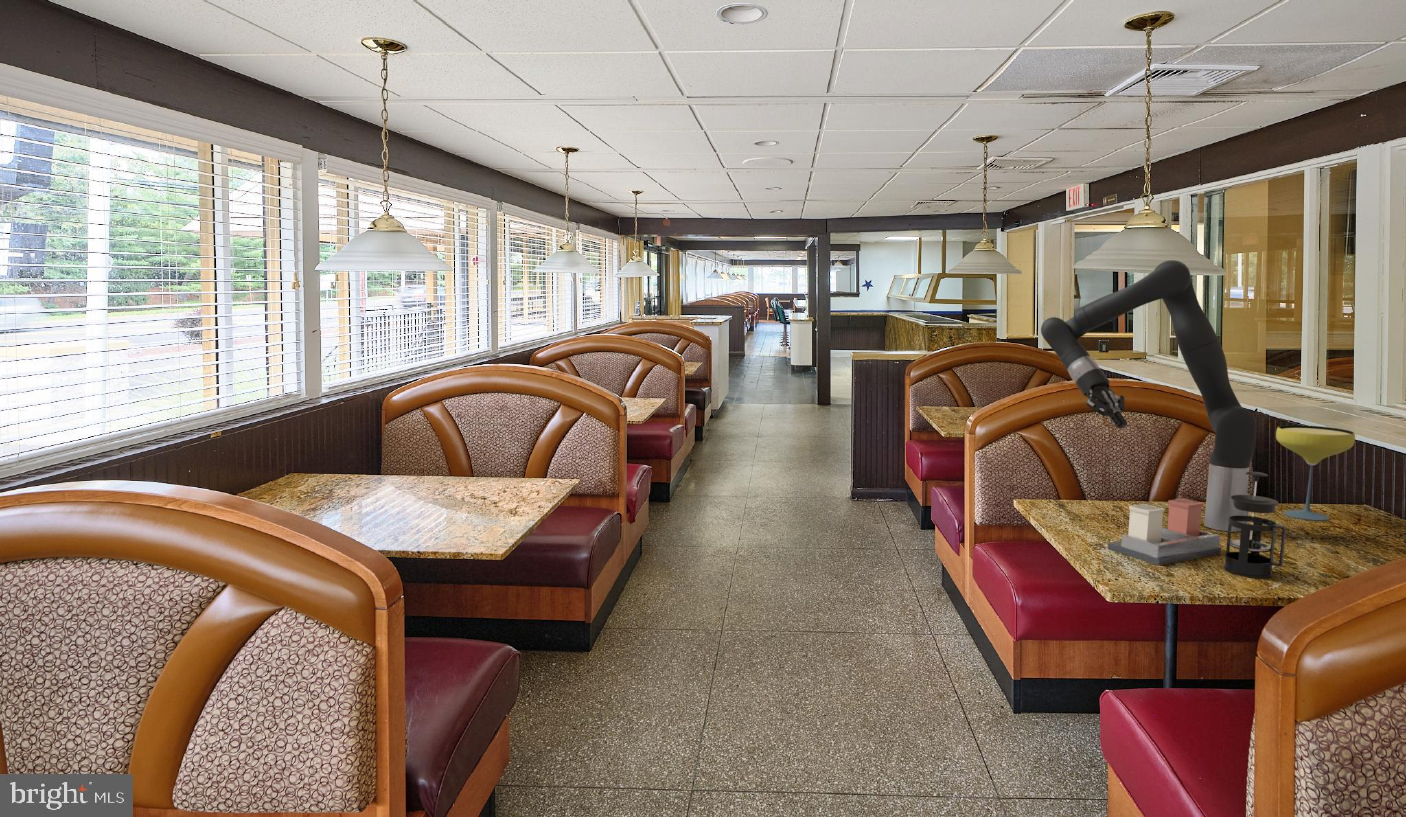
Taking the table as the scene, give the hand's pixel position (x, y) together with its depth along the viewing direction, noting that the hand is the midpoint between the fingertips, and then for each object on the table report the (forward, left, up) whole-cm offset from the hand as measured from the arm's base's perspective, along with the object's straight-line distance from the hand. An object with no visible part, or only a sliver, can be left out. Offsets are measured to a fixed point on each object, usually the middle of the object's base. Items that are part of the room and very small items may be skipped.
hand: (1123, 426), depth 224 cm
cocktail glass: (-63, +2, -28) cm, 69 cm away
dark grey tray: (+3, +19, -28) cm, 34 cm away
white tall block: (+10, +21, -26) cm, 35 cm away
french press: (-4, +38, -28) cm, 47 cm away
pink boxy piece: (-4, +19, -26) cm, 32 cm away
